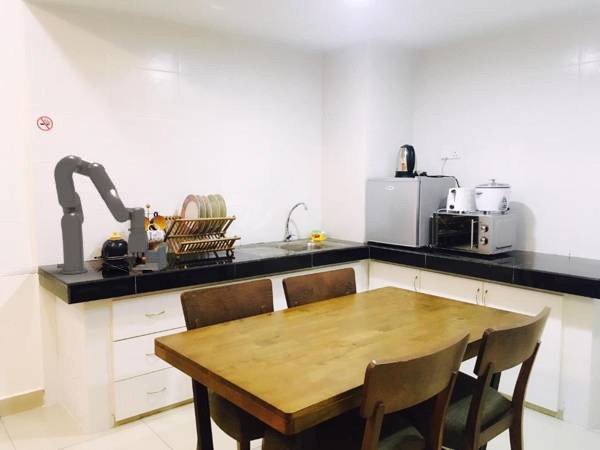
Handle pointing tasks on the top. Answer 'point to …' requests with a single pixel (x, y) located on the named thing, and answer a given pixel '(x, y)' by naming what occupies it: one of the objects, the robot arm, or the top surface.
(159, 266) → the grey l-shaped piece
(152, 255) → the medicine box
